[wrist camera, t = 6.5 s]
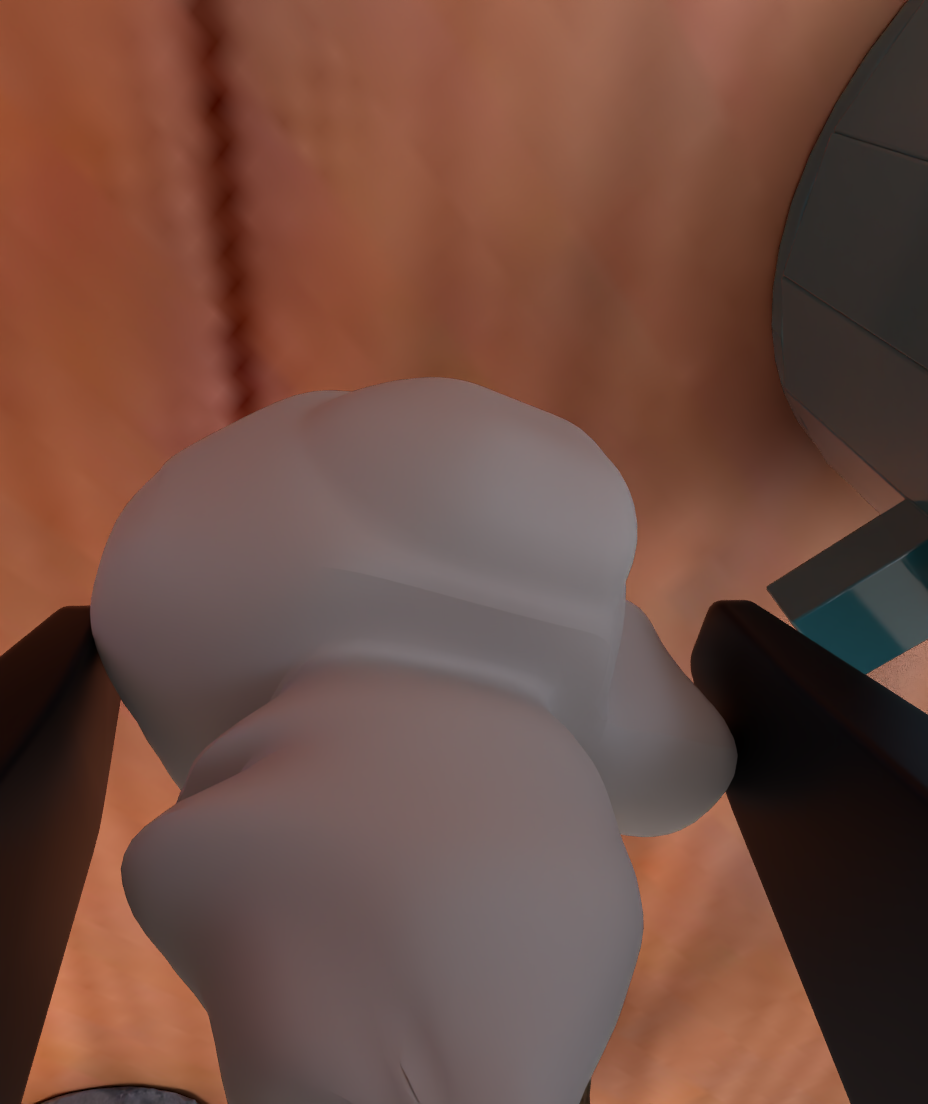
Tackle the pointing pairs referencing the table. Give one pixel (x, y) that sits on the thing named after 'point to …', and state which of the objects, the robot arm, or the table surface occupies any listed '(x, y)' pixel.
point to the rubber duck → (399, 742)
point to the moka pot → (122, 1097)
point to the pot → (864, 349)
